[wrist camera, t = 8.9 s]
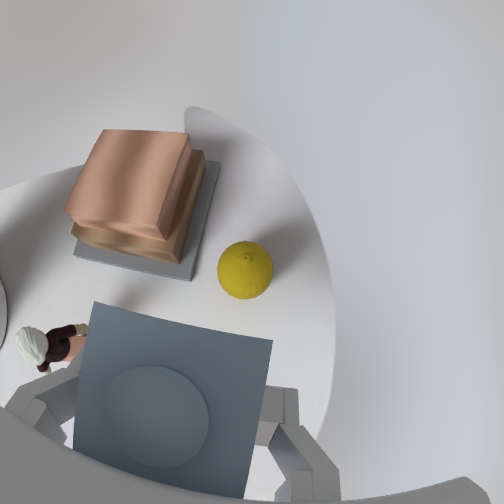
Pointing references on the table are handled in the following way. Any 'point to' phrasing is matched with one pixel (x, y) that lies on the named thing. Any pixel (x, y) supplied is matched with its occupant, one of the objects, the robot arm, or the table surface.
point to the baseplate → (190, 247)
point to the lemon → (245, 270)
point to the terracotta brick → (137, 193)
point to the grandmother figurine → (50, 345)
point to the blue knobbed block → (170, 400)
